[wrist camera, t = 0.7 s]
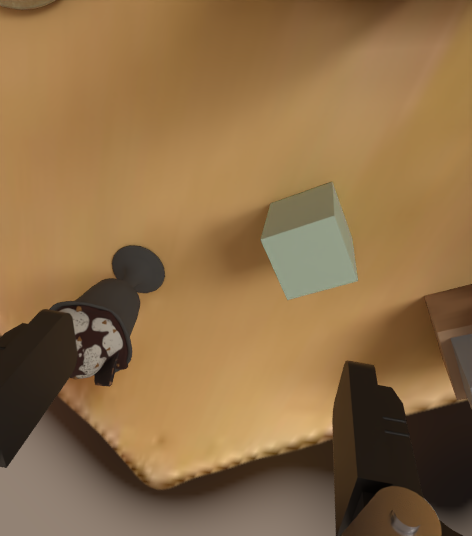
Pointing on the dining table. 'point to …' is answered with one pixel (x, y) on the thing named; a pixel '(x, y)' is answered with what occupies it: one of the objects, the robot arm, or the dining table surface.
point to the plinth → (451, 327)
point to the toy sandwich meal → (24, 4)
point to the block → (309, 242)
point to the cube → (464, 361)
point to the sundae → (111, 314)
